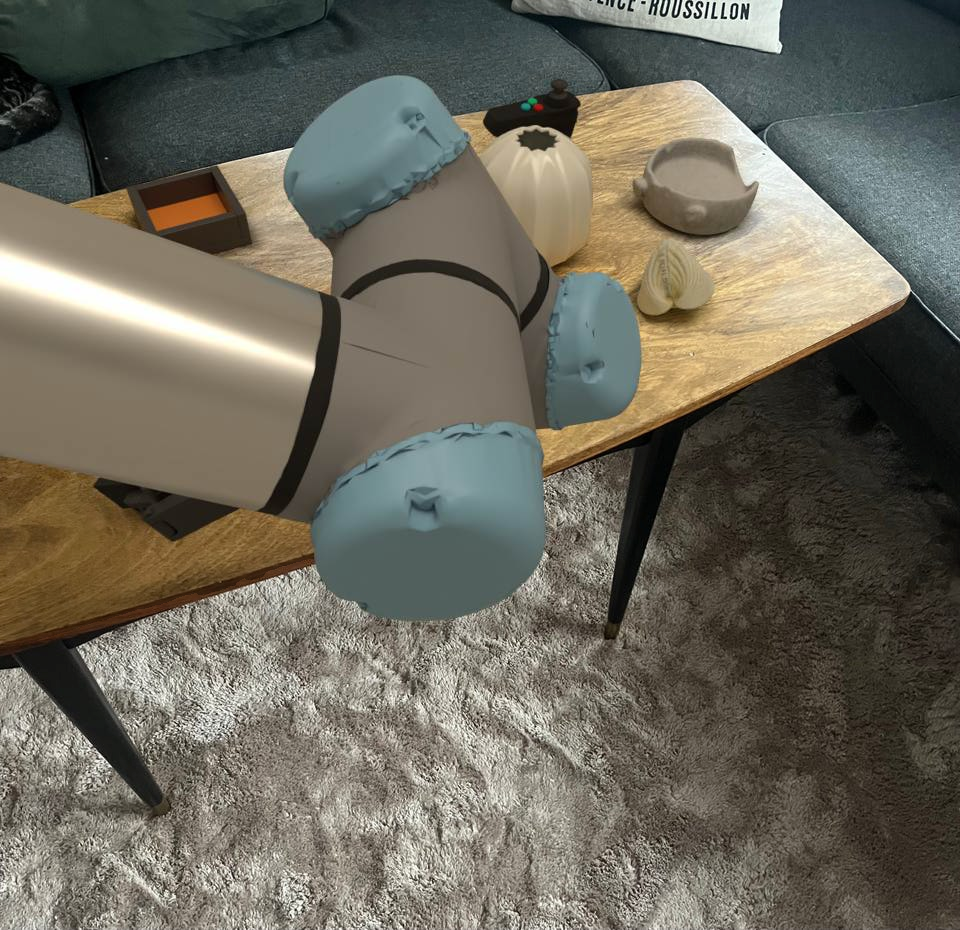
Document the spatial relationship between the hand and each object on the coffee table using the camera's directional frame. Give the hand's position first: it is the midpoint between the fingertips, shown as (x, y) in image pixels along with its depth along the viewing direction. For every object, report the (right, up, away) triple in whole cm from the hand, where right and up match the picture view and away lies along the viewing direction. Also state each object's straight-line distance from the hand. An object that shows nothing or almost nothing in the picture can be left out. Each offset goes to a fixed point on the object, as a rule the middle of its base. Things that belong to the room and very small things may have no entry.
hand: (157, 417), depth 61 cm
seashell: (+45, +14, +29) cm, 55 cm away
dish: (+49, +28, +40) cm, 70 cm away
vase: (+29, +21, +34) cm, 50 cm away
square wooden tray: (-9, +24, +34) cm, 43 cm away
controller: (+30, +35, +45) cm, 64 cm away
